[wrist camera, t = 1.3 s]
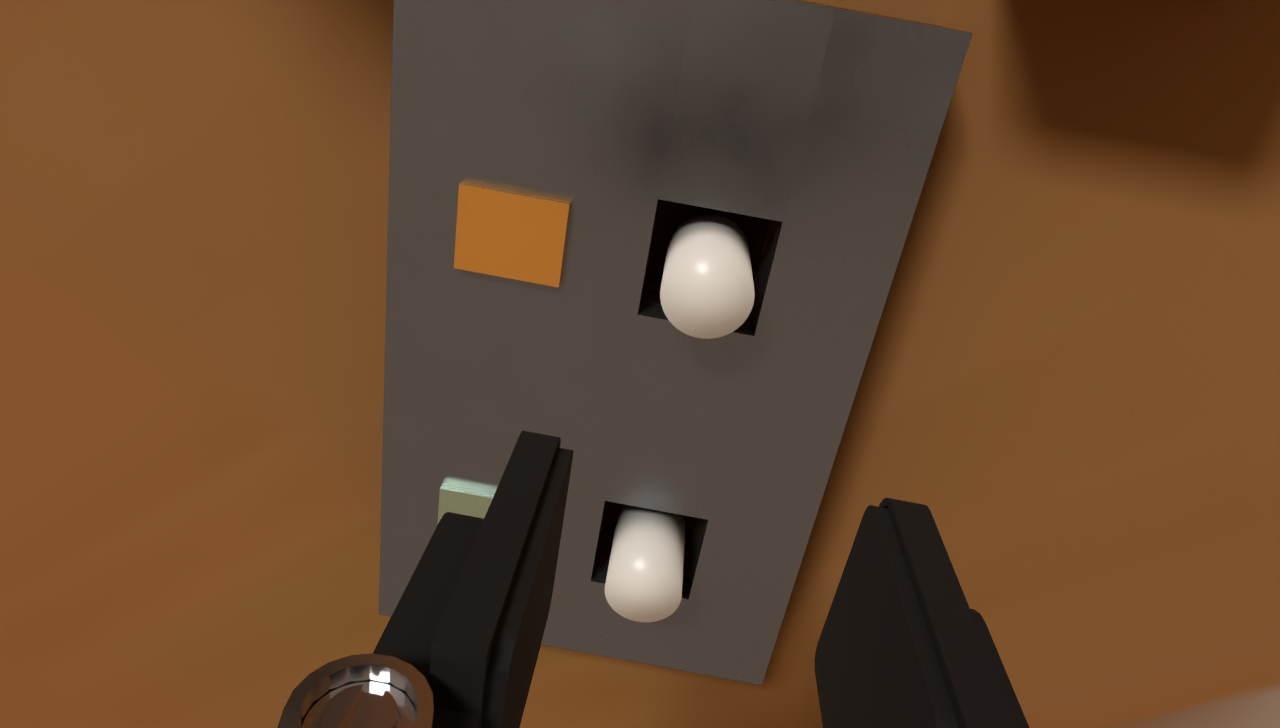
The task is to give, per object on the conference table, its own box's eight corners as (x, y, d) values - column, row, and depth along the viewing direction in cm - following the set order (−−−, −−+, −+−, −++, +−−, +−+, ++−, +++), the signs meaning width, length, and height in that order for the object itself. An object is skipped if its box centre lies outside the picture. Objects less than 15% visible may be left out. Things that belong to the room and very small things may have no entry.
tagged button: (757, 222, 23) (764, 259, 20) (739, 299, 24) (743, 346, 21) (674, 207, 23) (669, 242, 20) (660, 284, 24) (652, 329, 21)
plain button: (691, 503, 27) (688, 570, 24) (678, 558, 28) (674, 628, 25) (622, 491, 27) (610, 555, 24) (611, 546, 28) (599, 614, 25)
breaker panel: (940, 26, 22) (975, 34, 19) (757, 624, 32) (762, 691, 29) (434, -67, 22) (390, -73, 19) (407, 559, 32) (375, 620, 29)
